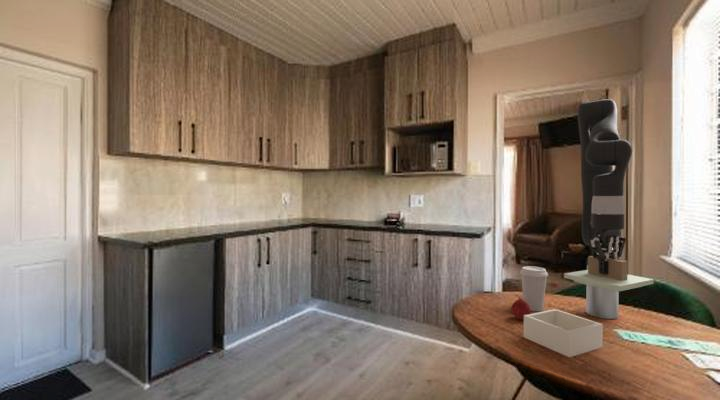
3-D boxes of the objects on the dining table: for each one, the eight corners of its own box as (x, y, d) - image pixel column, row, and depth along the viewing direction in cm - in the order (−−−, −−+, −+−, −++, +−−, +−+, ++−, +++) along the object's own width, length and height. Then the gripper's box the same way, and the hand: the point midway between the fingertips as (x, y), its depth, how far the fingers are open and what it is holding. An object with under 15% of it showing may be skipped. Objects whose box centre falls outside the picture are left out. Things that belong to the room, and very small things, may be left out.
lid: (596, 275, 108) (596, 252, 108) (653, 287, 94) (653, 261, 94) (563, 281, 102) (564, 256, 102) (619, 294, 88) (619, 266, 88)
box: (555, 331, 109) (555, 308, 109) (602, 349, 96) (602, 324, 96) (523, 339, 103) (523, 315, 103) (569, 359, 90) (569, 332, 90)
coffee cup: (553, 312, 126) (553, 271, 125) (526, 312, 126) (526, 271, 126) (539, 304, 135) (540, 265, 135) (515, 304, 135) (515, 265, 135)
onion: (532, 324, 114) (532, 300, 114) (513, 323, 116) (514, 299, 115) (527, 318, 120) (527, 295, 120) (509, 316, 121) (510, 294, 121)
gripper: (608, 210, 104) (608, 268, 104) (578, 212, 98) (577, 273, 99) (637, 211, 97) (636, 273, 97) (606, 213, 91) (605, 279, 92)
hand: (607, 273), depth 98 cm, fingers closed on lid, 2 cm apart
